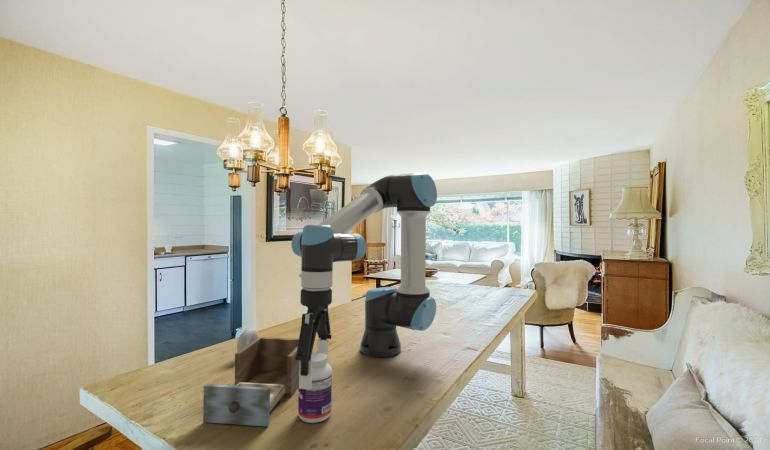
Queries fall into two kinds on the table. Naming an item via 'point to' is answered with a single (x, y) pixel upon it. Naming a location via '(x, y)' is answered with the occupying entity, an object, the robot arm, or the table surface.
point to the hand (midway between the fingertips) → (314, 375)
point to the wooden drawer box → (269, 363)
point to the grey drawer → (241, 403)
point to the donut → (246, 338)
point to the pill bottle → (317, 392)
